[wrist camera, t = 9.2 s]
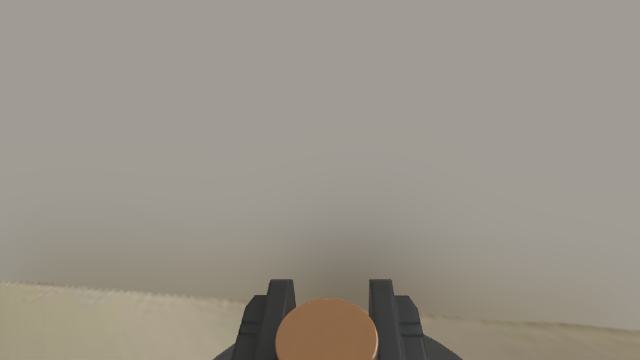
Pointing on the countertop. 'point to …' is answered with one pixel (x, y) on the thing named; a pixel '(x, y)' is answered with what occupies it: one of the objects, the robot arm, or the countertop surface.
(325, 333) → the lid
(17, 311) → the countertop surface
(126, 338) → the countertop surface
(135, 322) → the countertop surface
